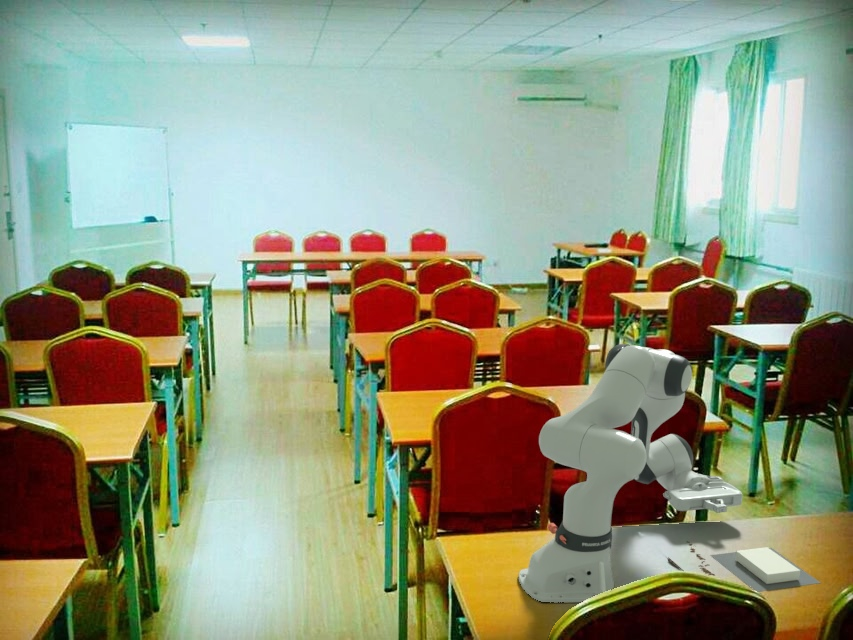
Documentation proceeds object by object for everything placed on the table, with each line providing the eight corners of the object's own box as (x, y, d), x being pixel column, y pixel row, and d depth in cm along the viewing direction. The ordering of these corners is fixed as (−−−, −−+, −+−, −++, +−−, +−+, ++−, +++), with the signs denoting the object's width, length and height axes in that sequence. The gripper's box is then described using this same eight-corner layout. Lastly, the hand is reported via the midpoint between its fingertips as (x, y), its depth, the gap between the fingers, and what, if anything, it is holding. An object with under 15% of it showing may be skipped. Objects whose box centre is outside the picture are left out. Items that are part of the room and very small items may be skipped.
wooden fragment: (726, 586, 187) (727, 582, 186) (680, 585, 187) (680, 581, 187) (692, 536, 212) (693, 532, 212) (652, 535, 212) (652, 532, 212)
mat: (755, 593, 183) (755, 591, 183) (710, 556, 200) (710, 555, 200) (820, 584, 187) (821, 582, 187) (770, 549, 204) (771, 547, 204)
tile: (735, 560, 197) (766, 585, 186) (736, 550, 197) (767, 574, 185) (766, 556, 199) (799, 580, 188) (767, 547, 199) (800, 570, 187)
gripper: (660, 482, 219) (688, 502, 206) (724, 476, 224) (756, 495, 211) (659, 503, 220) (686, 524, 207) (722, 496, 225) (753, 517, 212)
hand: (722, 509), depth 209 cm, fingers closed
